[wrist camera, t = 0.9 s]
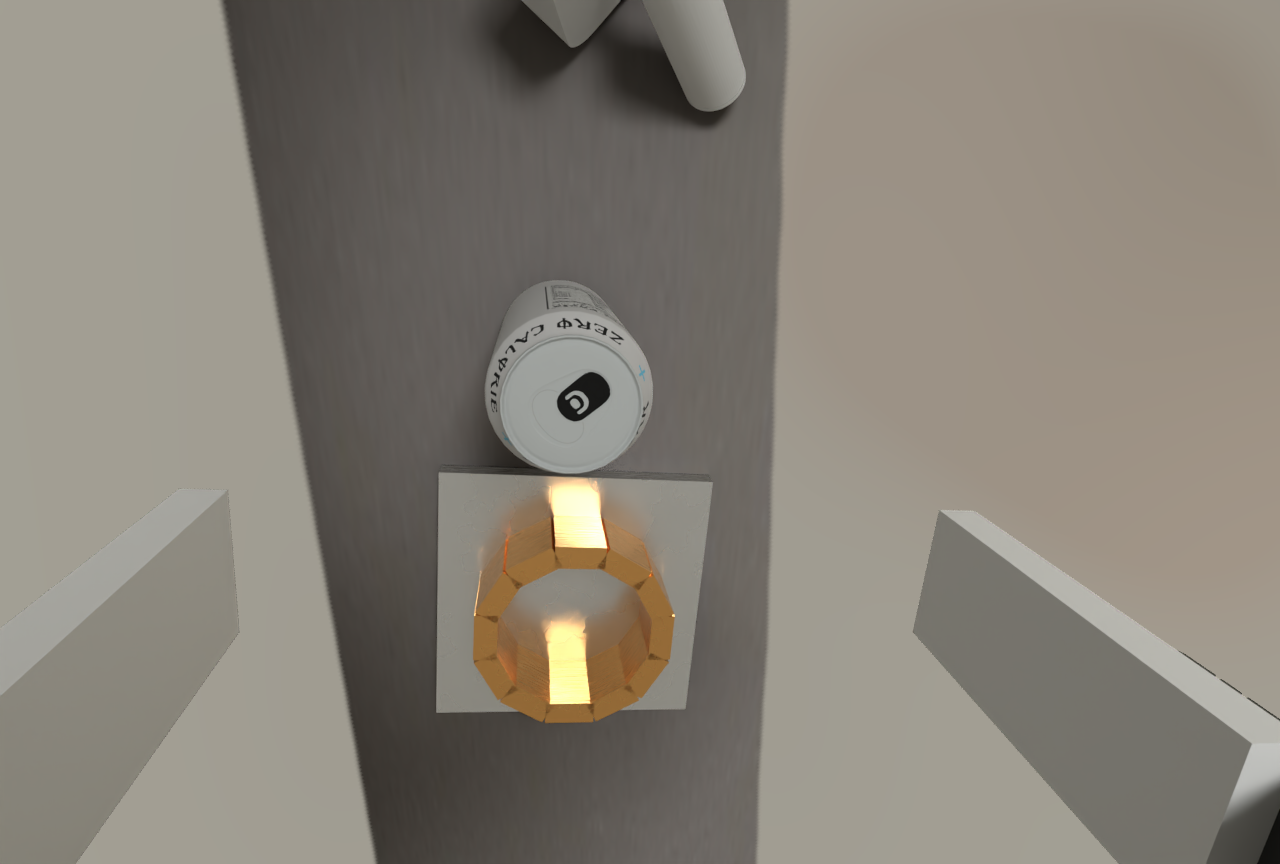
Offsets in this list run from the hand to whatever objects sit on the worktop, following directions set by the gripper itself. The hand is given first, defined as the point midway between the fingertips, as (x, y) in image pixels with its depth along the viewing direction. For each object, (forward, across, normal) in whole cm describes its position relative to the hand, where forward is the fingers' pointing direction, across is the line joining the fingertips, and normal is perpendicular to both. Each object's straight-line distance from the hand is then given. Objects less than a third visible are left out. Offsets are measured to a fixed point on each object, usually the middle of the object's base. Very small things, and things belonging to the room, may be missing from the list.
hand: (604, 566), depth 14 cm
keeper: (+26, +1, -15) cm, 30 cm away
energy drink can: (+27, 0, 0) cm, 27 cm away
